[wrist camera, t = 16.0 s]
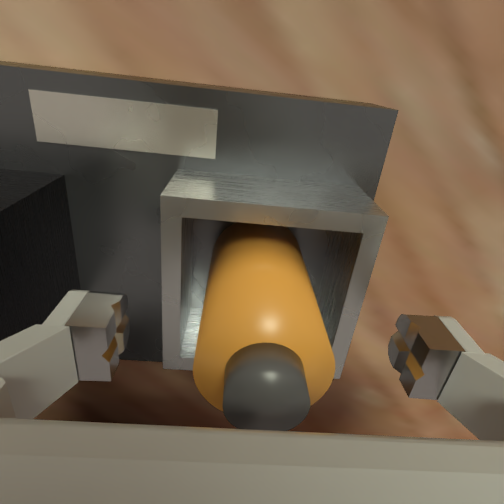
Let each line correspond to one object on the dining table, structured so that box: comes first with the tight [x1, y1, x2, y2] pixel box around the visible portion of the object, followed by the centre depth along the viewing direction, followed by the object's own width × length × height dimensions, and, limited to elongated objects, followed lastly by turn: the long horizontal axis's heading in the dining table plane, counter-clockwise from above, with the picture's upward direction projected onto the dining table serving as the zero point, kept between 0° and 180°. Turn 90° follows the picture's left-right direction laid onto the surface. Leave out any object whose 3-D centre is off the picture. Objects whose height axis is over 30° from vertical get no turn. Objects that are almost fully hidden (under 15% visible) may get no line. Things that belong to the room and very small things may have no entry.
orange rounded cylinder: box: [193, 222, 335, 431], centre depth 11 cm, size 4×4×7 cm
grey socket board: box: [0, 61, 398, 379], centre depth 13 cm, size 12×20×8 cm, turn 84°
